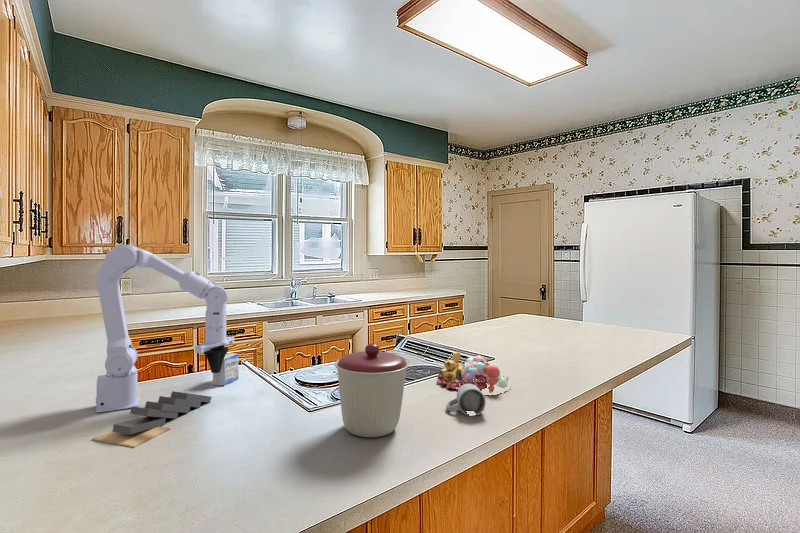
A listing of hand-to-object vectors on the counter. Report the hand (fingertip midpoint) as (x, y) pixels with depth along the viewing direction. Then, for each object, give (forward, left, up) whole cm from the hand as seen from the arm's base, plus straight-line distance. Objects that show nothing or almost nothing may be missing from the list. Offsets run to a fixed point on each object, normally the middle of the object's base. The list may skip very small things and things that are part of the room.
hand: (215, 372), depth 128 cm
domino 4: (-7, -7, -6) cm, 11 cm away
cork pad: (-20, -20, -7) cm, 30 cm away
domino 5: (-4, -4, -6) cm, 8 cm away
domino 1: (-15, -15, -6) cm, 22 cm away
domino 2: (-12, -12, -6) cm, 19 cm away
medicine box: (+4, +13, -7) cm, 15 cm away
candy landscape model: (+78, -24, -8) cm, 82 cm away
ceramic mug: (+59, -43, -7) cm, 74 cm away
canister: (+30, -42, -7) cm, 53 cm away
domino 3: (-10, -10, -6) cm, 15 cm away
